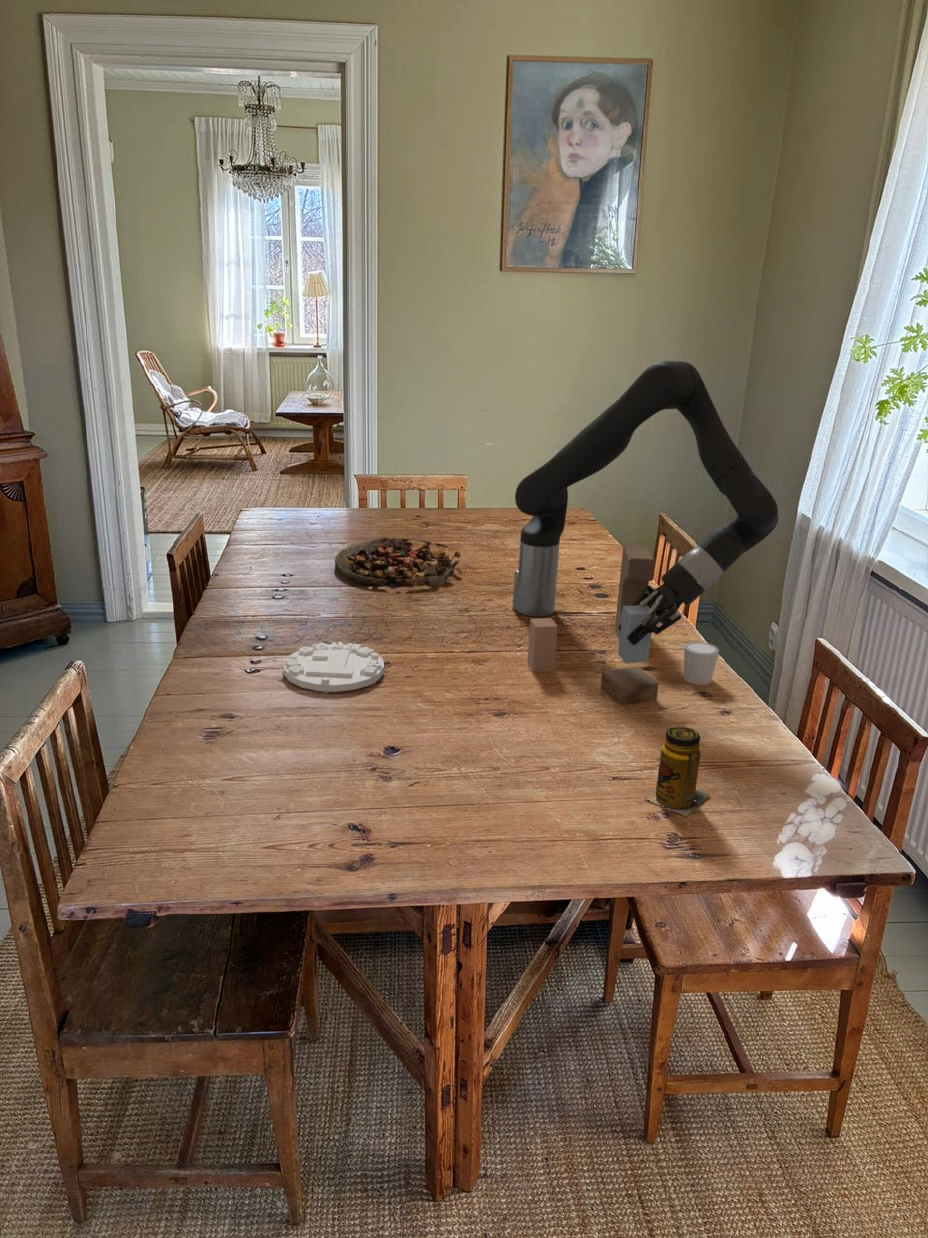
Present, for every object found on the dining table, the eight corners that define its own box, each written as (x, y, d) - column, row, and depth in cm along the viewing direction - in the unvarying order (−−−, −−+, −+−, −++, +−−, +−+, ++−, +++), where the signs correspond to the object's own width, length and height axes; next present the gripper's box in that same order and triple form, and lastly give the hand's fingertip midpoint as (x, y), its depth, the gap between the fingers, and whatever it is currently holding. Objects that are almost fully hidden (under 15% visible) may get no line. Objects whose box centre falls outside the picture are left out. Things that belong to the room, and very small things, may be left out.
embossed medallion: (264, 683, 184) (264, 669, 183) (315, 647, 201) (315, 635, 200) (355, 703, 177) (355, 689, 176) (400, 665, 195) (400, 651, 194)
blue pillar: (625, 663, 180) (630, 614, 176) (618, 653, 184) (622, 605, 180) (648, 662, 181) (653, 613, 177) (639, 652, 185) (645, 605, 181)
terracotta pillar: (532, 672, 193) (535, 626, 189) (527, 663, 197) (530, 618, 194) (553, 671, 194) (557, 626, 190) (548, 662, 198) (551, 618, 194)
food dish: (484, 582, 248) (485, 554, 245) (373, 605, 231) (373, 576, 228) (414, 543, 275) (415, 517, 271) (311, 561, 257) (310, 534, 254)
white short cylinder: (715, 675, 195) (720, 644, 193) (712, 688, 189) (717, 656, 186) (682, 669, 197) (686, 639, 195) (678, 682, 191) (682, 651, 188)
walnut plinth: (620, 706, 180) (622, 688, 179) (600, 689, 187) (602, 671, 186) (656, 701, 183) (658, 682, 182) (635, 684, 190) (637, 666, 189)
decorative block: (645, 646, 208) (655, 560, 201) (619, 644, 208) (628, 558, 201) (639, 627, 219) (648, 545, 211) (614, 626, 219) (623, 543, 212)
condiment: (644, 800, 149) (652, 733, 145) (670, 780, 155) (679, 715, 151) (685, 818, 145) (695, 749, 140) (710, 796, 151) (721, 730, 147)
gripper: (666, 550, 183) (601, 611, 185) (696, 574, 170) (626, 638, 172) (689, 576, 186) (624, 634, 188) (719, 600, 173) (650, 663, 175)
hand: (625, 636), depth 180 cm, fingers closed on blue pillar, 4 cm apart
